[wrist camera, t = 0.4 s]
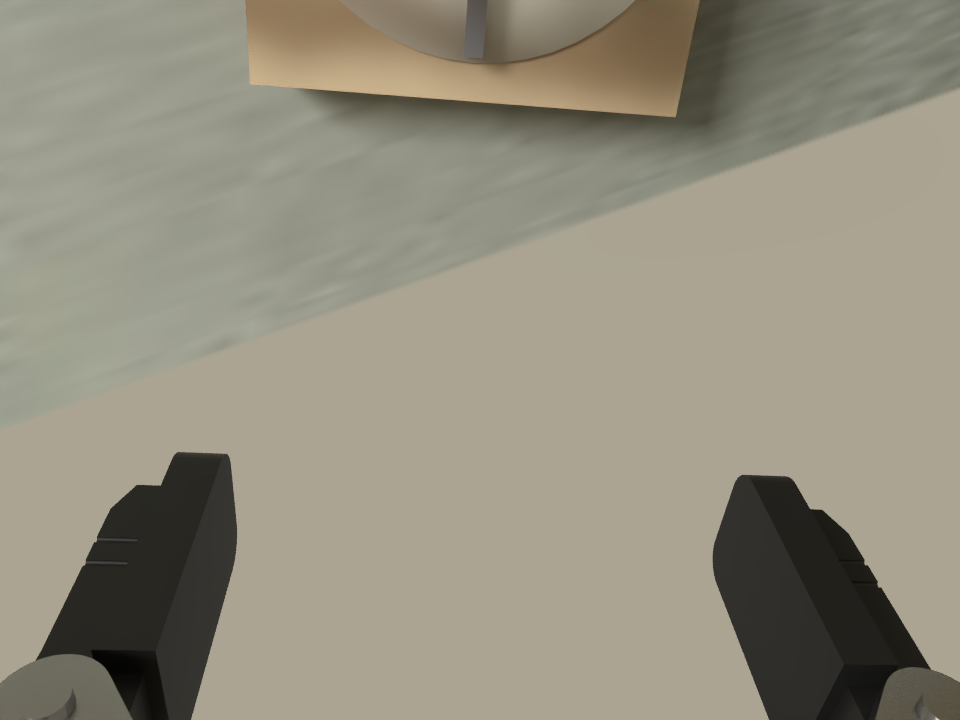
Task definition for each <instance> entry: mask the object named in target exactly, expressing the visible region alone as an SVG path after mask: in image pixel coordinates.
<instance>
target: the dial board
mask: <svg viewBox="0 0 960 720" xmlns="http://www.w3.org/2000/svg"><path fill="white" fill-rule="evenodd" d="M699 2H700V0H488V4H487V16H486V27H485V39H484V51H483V58H472V57H464V41H465V27H466V14H467V0H246V17H247V35H248V53H249V71H250V84H253V85H266V86H279V87H292V88H305V89H318V90H331V91H344V92H357V93H369V94H382V95H395V96H408V97H421V98H434V99H447V100H460V101H473V102H485V103H498V104H511V105H524V106H537V107H550V108H563V109H576V110H589V111H601V112H614V113H627V114H640V115H653V116H666V117H676V113H677V108H678V103H679V99H680V94H681V89H682V84H683V79H684V75H685V70H686V65H687V60H688V55H689V50H690V46H691V41H692V36H693V31H694V26H695V21H696V17H697V12H698V7H699Z"/></svg>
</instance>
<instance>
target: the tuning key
mask: <svg viewBox="0 0 960 720" xmlns="http://www.w3.org/2000/svg"><path fill="white" fill-rule="evenodd" d="M487 4H488V0H467V14H466V27H465V41H464V57H472V58H483V51H484V39H485V27H486V16H487Z"/></svg>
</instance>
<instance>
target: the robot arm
mask: <svg viewBox="0 0 960 720" xmlns="http://www.w3.org/2000/svg"><path fill="white" fill-rule="evenodd" d="M236 545H237V524H236V514H235V503H234V493H233V482H232V473H231V463H230V458H229V456H228V455H227V454H213V453H185V452H177V453H176V454H175V455H174V457H173V459H172V461H171V463H170V465H169V468H168V470H167V472H166V475H165V477H164V479H163V482H162V484H161V486H152V485H136V486H135V487H134V488H133V489H132V490H131V491H130V492H129V493H128V494H126V495H125V496H124V497H123V498H122V499H121V500H120V501H119V502H118V503H116V504H115V506H113V507H112V508H111V509H110V511H109V513H108V515H107V517H106V519H105V521H104V524H103V526H102V528H101V530H100V532H99V534H98V536H97V542H94V544H93V546H92V548H91V550H90V552H89V554H88V556H87V558H86V564H85V566H83V567H82V569H81V571H80V573H79V575H78V577H77V579H76V581H75V583H74V585H73V587H72V589H71V591H70V593H69V595H68V597H67V600H66V601H65V603H64V606H63V608H62V610H61V612H60V614H59V616H58V618H57V620H56V622H55V624H54V626H53V628H52V630H51V632H50V634H49V636H48V638H47V640H46V643H45V644H44V647H43V649H42V651H41V652H40V654H39V656H38V657H37V659H36V661H34V662H32V663H29V664H27V665H25V666H24V667H22V668H20V669H18V670H17V671H15V672H14V673H12V674H11V675H9V676H8V677H7V678H6V679H5V680H3V681H2V682H1V683H0V720H191V717H192V713H193V710H194V707H195V703H196V699H197V696H198V692H199V689H200V685H201V681H202V678H203V674H204V670H205V667H206V663H207V660H208V656H209V652H210V649H211V645H212V642H213V638H214V634H215V631H216V627H217V624H218V620H219V616H220V613H221V609H222V606H223V602H224V599H225V595H226V591H227V588H228V584H229V581H230V577H231V573H232V570H233V566H234V561H235V554H236ZM713 569H714V576H715V580H716V583H717V586H718V588H719V591H720V594H721V596H722V599H723V601H724V604H725V607H726V609H727V612H728V614H729V617H730V619H731V622H732V625H733V627H734V630H735V632H736V635H737V638H738V640H739V643H740V645H741V648H742V651H743V653H744V655H745V658H746V661H747V663H748V666H749V669H750V671H751V674H752V676H753V679H754V682H755V684H756V687H757V689H758V692H759V695H760V697H761V700H762V702H763V705H764V707H765V710H766V713H767V715H768V718H769V720H960V682H958V681H956V680H954V679H953V678H951V677H949V676H947V675H944V674H942V673H940V672H937V671H934V670H931V669H930V667H929V666H928V664H927V662H926V661H925V659H924V657H923V656H922V654H921V653H920V651H919V649H918V647H917V646H916V644H915V642H914V641H913V639H912V638H911V636H910V634H909V633H908V631H907V629H906V628H905V626H904V624H903V623H902V621H901V619H900V618H899V616H898V614H897V613H896V611H895V609H894V608H893V607H892V605H891V603H890V601H889V600H888V598H887V596H886V595H885V593H884V592H883V590H882V588H878V585H877V583H878V581H877V580H876V578H875V577H874V575H873V573H872V572H871V570H870V568H869V567H868V566H867V565H865V564H864V558H863V557H862V555H861V554H860V552H859V550H858V549H857V547H856V545H855V544H854V542H853V540H852V539H851V537H850V535H849V534H848V533H847V532H846V531H845V530H844V529H843V528H842V527H841V526H839V525H838V524H837V523H836V522H835V521H834V520H833V519H832V518H831V517H829V516H828V515H827V514H826V513H825V512H824V511H823V510H813V509H810V508H809V507H808V505H807V503H806V501H805V500H804V498H803V496H802V494H801V493H800V491H799V489H798V488H797V486H796V484H795V482H794V481H793V480H792V479H791V478H789V477H786V476H760V475H741V476H740V477H738V479H737V480H736V482H735V484H734V487H733V490H732V493H731V496H730V499H729V501H728V504H727V507H726V510H725V514H724V516H723V520H722V522H721V525H720V528H719V531H718V534H717V537H716V540H715V543H714V548H713Z"/></svg>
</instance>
